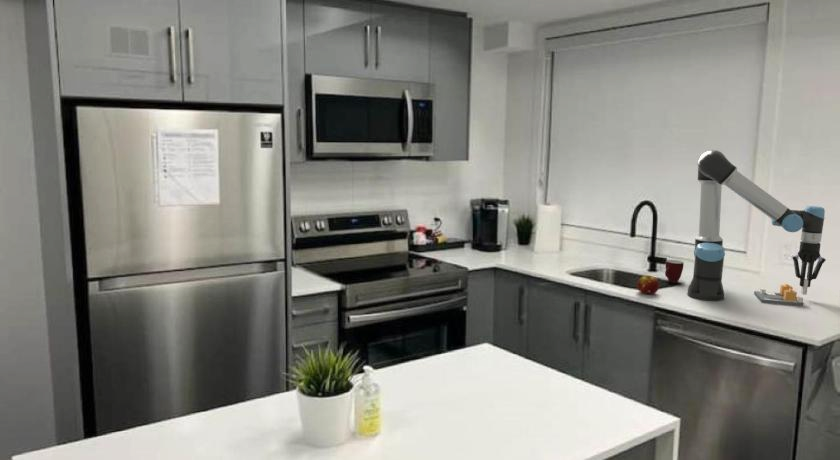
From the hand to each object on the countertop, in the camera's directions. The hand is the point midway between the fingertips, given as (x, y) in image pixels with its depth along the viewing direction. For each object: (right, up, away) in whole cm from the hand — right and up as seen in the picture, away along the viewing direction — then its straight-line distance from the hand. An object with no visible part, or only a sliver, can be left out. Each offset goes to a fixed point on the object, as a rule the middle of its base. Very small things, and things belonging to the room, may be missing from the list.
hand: (803, 293), depth 269 cm
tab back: (-7, -1, +2) cm, 7 cm away
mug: (-47, +3, +28) cm, 55 cm away
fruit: (-67, -1, +7) cm, 67 cm away
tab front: (-10, -2, -6) cm, 12 cm away
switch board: (-12, -3, -1) cm, 12 cm away
